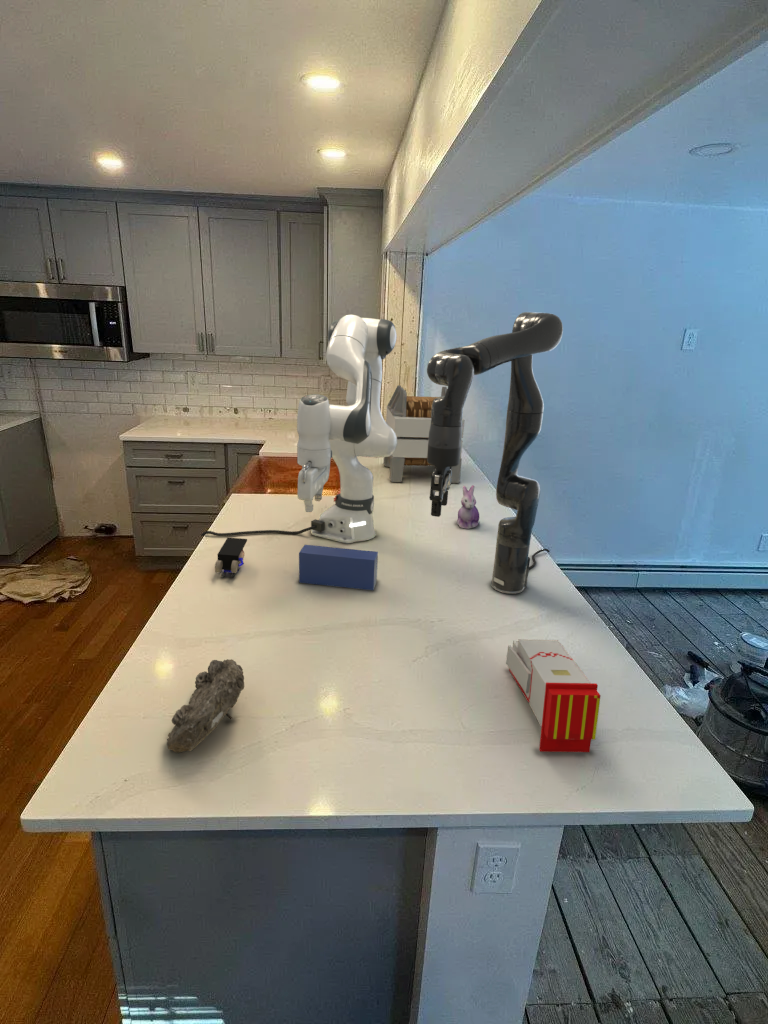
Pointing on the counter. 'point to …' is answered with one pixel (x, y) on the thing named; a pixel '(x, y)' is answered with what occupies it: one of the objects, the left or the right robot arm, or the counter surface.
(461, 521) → the figurine
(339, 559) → the box
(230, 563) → the figurine character
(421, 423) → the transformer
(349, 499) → the left robot arm
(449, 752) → the counter surface
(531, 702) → the toy
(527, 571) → the right robot arm
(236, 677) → the fossil
